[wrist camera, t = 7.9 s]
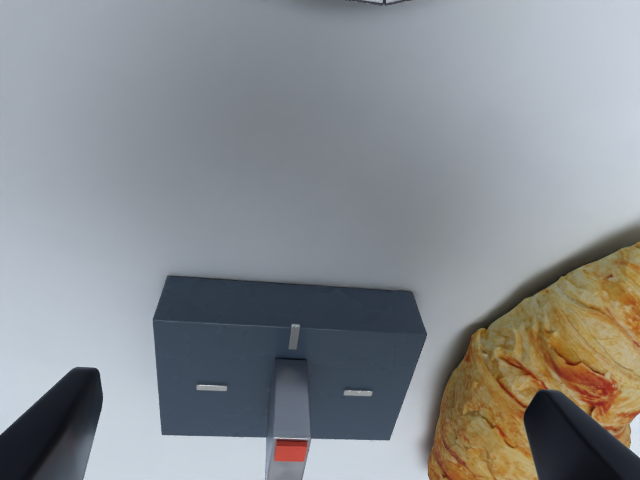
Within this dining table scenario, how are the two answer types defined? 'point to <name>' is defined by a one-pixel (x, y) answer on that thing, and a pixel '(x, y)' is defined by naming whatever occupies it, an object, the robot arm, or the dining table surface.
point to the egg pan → (379, 1)
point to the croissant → (544, 370)
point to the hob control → (283, 355)
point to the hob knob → (288, 421)
